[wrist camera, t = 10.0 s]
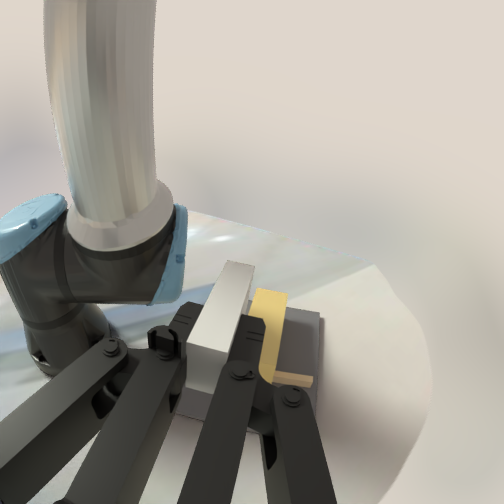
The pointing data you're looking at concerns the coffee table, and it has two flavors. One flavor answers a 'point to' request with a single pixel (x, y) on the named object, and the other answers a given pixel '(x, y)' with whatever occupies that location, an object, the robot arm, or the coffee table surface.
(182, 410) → the tipping mat
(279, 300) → the mustard block
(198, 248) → the coffee table surface
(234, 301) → the robot arm
